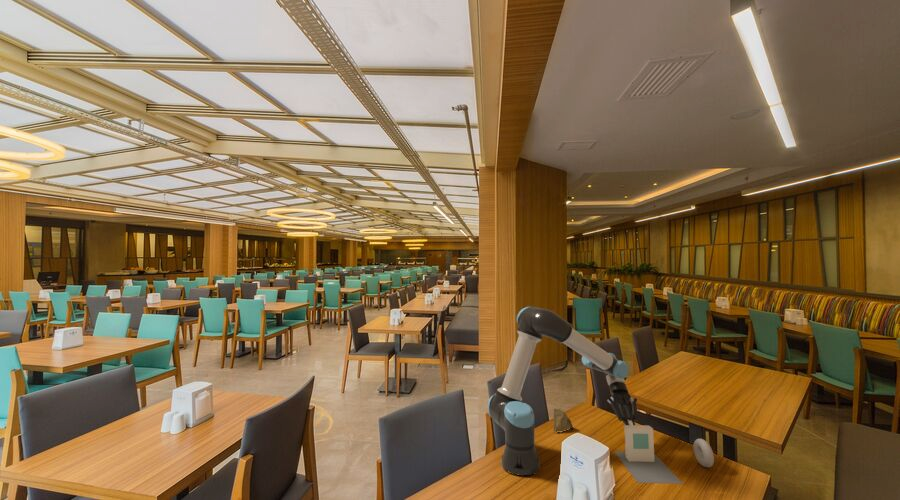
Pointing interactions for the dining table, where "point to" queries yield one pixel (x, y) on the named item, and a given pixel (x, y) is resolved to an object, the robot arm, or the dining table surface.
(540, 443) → the dining table surface
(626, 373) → the robot arm
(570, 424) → the rock
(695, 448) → the donut
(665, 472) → the mat
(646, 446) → the tile
